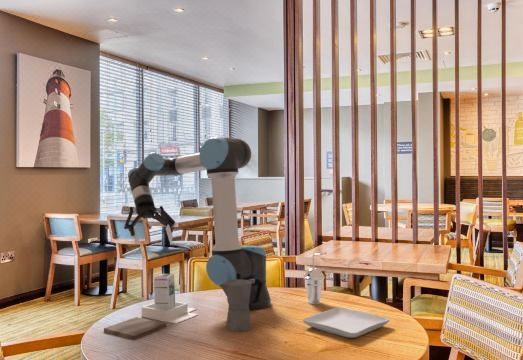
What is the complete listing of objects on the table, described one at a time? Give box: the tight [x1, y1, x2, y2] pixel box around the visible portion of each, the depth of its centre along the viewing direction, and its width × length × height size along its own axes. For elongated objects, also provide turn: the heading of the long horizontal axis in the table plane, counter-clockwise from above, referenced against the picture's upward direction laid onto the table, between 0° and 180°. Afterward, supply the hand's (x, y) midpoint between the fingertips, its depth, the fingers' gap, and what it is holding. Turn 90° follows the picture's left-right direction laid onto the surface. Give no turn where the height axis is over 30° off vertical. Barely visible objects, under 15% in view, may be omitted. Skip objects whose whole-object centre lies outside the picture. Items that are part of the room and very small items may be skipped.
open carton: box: [141, 301, 199, 325], centre depth 173 cm, size 17×17×4 cm
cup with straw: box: [302, 252, 327, 305], centre depth 186 cm, size 8×9×20 cm
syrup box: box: [153, 273, 176, 311], centre depth 172 cm, size 6×6×14 cm
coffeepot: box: [219, 273, 263, 333], centre depth 157 cm, size 15×9×18 cm, turn 115°
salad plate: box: [302, 306, 390, 339], centre depth 156 cm, size 21×21×3 cm
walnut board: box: [103, 316, 167, 340], centre depth 156 cm, size 14×14×1 cm
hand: (154, 240), depth 183 cm, fingers open, 13 cm apart
